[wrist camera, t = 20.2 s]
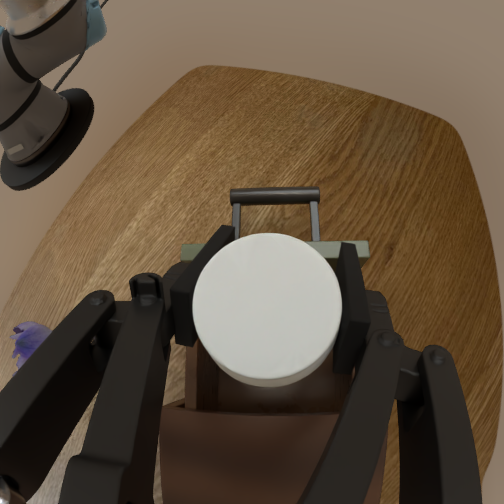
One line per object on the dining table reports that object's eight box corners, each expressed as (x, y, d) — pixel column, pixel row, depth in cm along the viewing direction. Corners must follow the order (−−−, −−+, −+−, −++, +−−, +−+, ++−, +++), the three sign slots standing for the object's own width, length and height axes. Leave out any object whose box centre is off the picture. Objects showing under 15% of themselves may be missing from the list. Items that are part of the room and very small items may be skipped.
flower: (54, 274, 23) (-21, 340, 17) (113, 351, 24) (39, 420, 18) (61, 295, 30) (3, 345, 24) (106, 352, 31) (50, 405, 25)
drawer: (212, 216, 30) (189, 172, 22) (341, 213, 28) (357, 167, 21) (203, 443, 23) (174, 472, 15) (347, 444, 21) (370, 475, 14)
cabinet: (200, 391, 25) (158, 407, 16) (354, 391, 24) (389, 408, 15) (202, 535, 20) (173, 586, 11) (340, 538, 18) (357, 592, 9)
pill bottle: (214, 310, 19) (150, 263, 10) (294, 270, 20) (302, 189, 10) (253, 391, 17) (219, 425, 8) (337, 348, 18) (390, 338, 8)
